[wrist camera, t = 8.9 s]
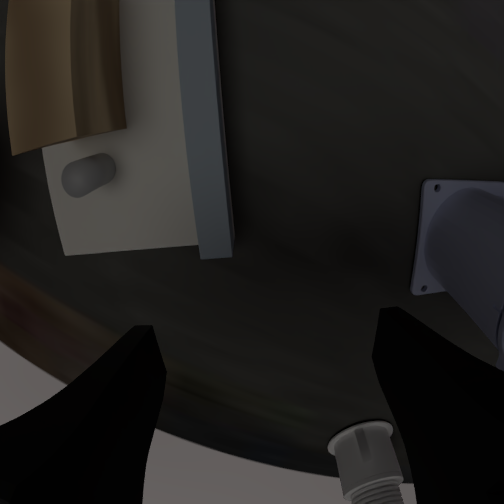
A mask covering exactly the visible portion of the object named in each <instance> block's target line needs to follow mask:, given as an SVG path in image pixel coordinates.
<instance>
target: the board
mask: <svg viewBox="0 0 504 504" xmlns="http://www.w3.org/2000/svg"><path fill="white" fill-rule="evenodd" d="M119 26H120V53H121V71H122V85H123V97H124V107H125V117H126V126H127V129H122V130H117V131H112V132H107V133H103V134H98V135H94V136H90V137H86V138H82V139H78V140H74V141H69V142H65V143H61V144H56V145H52V146H48V147H44V148H42V151H43V158H44V164H45V170H46V176H47V181H48V186H49V191H50V196H51V201H52V206H53V210H54V214H55V219H56V223H57V227H58V231H59V235H60V239H61V242H62V246H63V250H64V253H65V256H68V255H79V254H91V253H103V252H115V251H127V250H139V249H151V248H164V247H176V246H189V245H199V251H200V258H201V259H212V258H226V257H232V256H233V247H234V239H235V232H234V222H233V212H232V202H231V191H230V181H229V170H228V159H227V148H226V137H225V126H224V114H223V103H222V91H221V79H220V67H219V54H218V41H217V28H216V14H215V1H214V0H119Z"/></svg>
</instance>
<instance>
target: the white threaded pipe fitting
mask: <svg viewBox="0 0 504 504" xmlns="http://www.w3.org/2000/svg"><path fill="white" fill-rule="evenodd" d="M392 433H393V427H392V425H391V424H390V423H388V422H385V421H370V422H364V423H361V424H357V425H354V426H352V427H349V428H347V429H345V430H343V431H341V432H340V433H338V434H337V435H335V436H334V437H333V438H332V439H331V440H330V442H329V443H328V451H329V452H330V453H331V454H333V455H335V456H336V461H337V466H338V471H339V476H340V481H341V486H342V490H343V496H344V499H345V500H348V501H352V504H404V503H403V502H402V501H403V499H402V497H401V492H400V489H399V487H398V486H399V485H400V484H401V483H402V481H403V476H402V473H401V470H400V467H399V464H398V460H397V457H396V454H395V451H394V448H393V445H392V443H391V440H390V436H391V435H392Z"/></svg>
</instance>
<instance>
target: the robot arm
mask: <svg viewBox="0 0 504 504" xmlns="http://www.w3.org/2000/svg"><path fill="white" fill-rule="evenodd" d="M436 184H437V185H438V187H437V189H436V190H434V186H435V185H436ZM424 285H425V287H424V288H423V289H421V288H422V287H423V286H424ZM410 291H411V292H412V294H413V295H423V294H430V293H436V292H443V291H447V292H448V293H449V294H450V295H451V296H452V297H453V298H454V300H455V301H456V302H457V303H458V304H459V305H460V306H461V307H462V308H463V309H464V311H465V312H466V313H467V314H468V315H469V316H470V317H471V319H472V320H473V321H474V322H475V323H476V324H477V325H478V327H479V328H480V329H481V330H482V331H483V332H484V334H485V335H486V336H487V337H488V338H489V340H490V341H491V342H492V343H493V344H494V346H495V347H496V348H497V349H498V351H499V357H498V360H497V363H496V365H495V366H496V367H497V368H496V367H494V366H492V365H490V364H488V363H486V362H484V361H482V360H480V359H478V358H476V357H474V356H472V355H471V354H469V353H467V352H466V351H464V350H462V349H461V348H459V347H457V346H456V345H454V344H453V343H451V342H450V341H448V340H447V339H445V338H444V337H442V336H441V335H439V334H438V333H436V332H435V331H433V330H432V329H430V328H429V327H427V326H426V325H425V324H423V323H422V322H420V321H419V320H417V319H416V318H415V317H413V316H412V315H410V314H409V313H407V312H406V311H404V310H403V309H401V308H399V307H397V306H396V307H389V308H381V309H380V313H379V319H378V326H377V331H376V337H375V343H374V348H373V353H372V359H373V363H374V367H375V370H376V374H377V377H378V380H379V383H380V386H381V388H382V390H383V393H384V395H385V398H386V400H387V402H388V405H389V407H390V409H391V412H392V414H393V416H394V419H395V421H396V423H397V426H398V428H399V431H400V433H401V436H402V439H403V441H404V444H405V448H406V452H407V456H408V460H409V464H410V468H411V473H412V478H413V483H414V487H415V494H416V501H417V504H504V182H500V181H481V180H456V179H426V180H425V181H424V182H423V184H422V190H421V204H420V216H419V227H418V236H417V244H416V252H415V260H414V267H413V273H412V279H411V285H410ZM166 373H167V371H166V368H165V365H164V362H163V359H162V356H161V353H160V349H159V346H158V343H157V340H156V336H155V333H154V329H153V326H152V325H140V326H134V327H133V328H131V329H130V330H129V331H128V332H127V333H126V334H125V335H124V336H123V337H121V338H120V339H119V340H118V341H117V342H116V343H115V344H114V345H113V346H112V347H111V348H110V349H109V350H108V351H107V352H105V353H104V354H103V355H102V356H101V357H100V358H99V359H98V360H97V361H96V362H95V363H94V364H92V365H91V366H90V367H89V368H88V369H87V370H85V371H84V372H83V373H82V374H81V375H80V376H78V377H77V378H76V379H75V380H74V381H73V382H71V383H70V384H69V385H68V386H66V387H65V388H64V389H63V390H61V391H60V392H58V393H57V394H55V395H54V396H53V397H51V398H50V399H48V400H47V401H45V402H44V403H42V404H40V405H39V406H37V407H35V408H34V409H32V410H30V411H28V412H26V413H25V414H23V415H21V416H20V417H17V418H16V419H14V420H11V421H9V422H7V423H5V424H3V425H1V426H0V504H142V499H143V487H144V478H145V469H146V463H147V458H148V453H149V449H150V445H151V441H152V438H153V434H154V430H155V427H156V423H157V419H158V416H159V412H160V408H161V404H162V401H163V396H164V389H165V381H166Z"/></svg>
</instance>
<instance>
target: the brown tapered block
mask: <svg viewBox="0 0 504 504" xmlns="http://www.w3.org/2000/svg"><path fill="white" fill-rule="evenodd" d="M5 79H6V101H7V115H8V126H9V135H10V143H11V150H12V156H14V155H17V154H21V153H25V152H28V151H32V150H36V149H40V148H44V147H48V146H52V145H56V144H61V143H65V142H69V141H74V140H78V139H82V138H86V137H90V136H94V135H98V134H103V133H107V132H112V131H117V130H122V129H127V126H126V117H125V107H124V97H123V85H122V71H121V53H120V26H119V0H9V5H8V15H7V28H6V50H5Z"/></svg>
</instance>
